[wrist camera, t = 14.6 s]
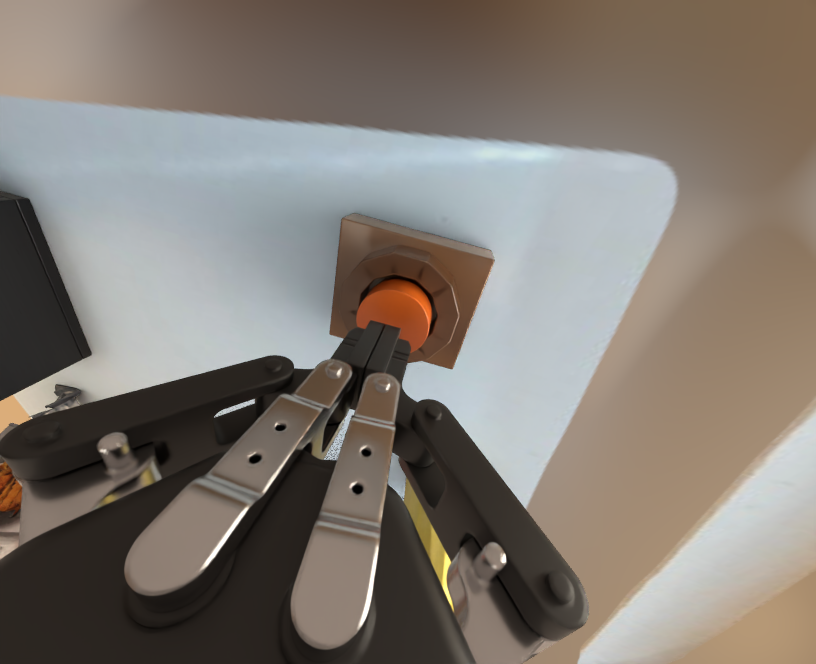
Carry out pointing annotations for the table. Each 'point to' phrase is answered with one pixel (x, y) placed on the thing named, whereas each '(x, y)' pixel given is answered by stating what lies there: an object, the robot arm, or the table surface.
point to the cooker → (32, 304)
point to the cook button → (398, 310)
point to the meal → (4, 490)
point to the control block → (410, 279)
